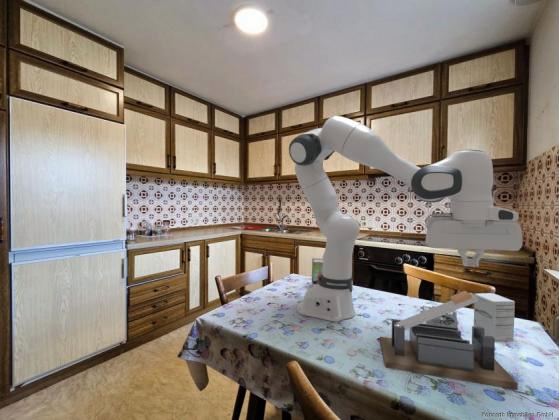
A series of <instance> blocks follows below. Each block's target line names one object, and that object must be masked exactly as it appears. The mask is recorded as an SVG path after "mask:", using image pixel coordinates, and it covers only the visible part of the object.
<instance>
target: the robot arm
mask: <svg viewBox="0 0 559 420" xmlns="http://www.w3.org/2000/svg"><path fill="white" fill-rule="evenodd" d="M288 153H289V158H290V159H291V160H292V161H293V163H294V164H295V165H294V172H295V176H296V178H297V180H298V184H299V186H300V188H301V190H302V193H303V195H304V196H305V197H306V200H307V202H308V204H309V206H310V208H311V210H312V213H313V215H314V218H315V221H316V223H317V226H318V229H319V231H320V234H321V235H323V236H324V237H325V239H326V243H325V248H324V253H323V255H322V258H323V274H322V273H319V274H318V276H317V277H318V279H317V282H318V284H317V285H315V286H314V287H312V286H311V288H309V289H308V290H307V291H306V292H305V294H304V296H303V300H301V301H300V302H299V304H298V305H297V313H298V314H299V315H303V316H306V317H312V318H315V319H320V320H326V321H329V322H333V323H335V322H336V323H337V322H340V321H342V320H348V319H350V318H351V319H352V318H353V317H354V316H355V315H356V310H355V307H354V302H353V301H354V300H353V290H354V287H353V285H354V283H353V281H354V280H353V276H352V262H353V261H352V259H353V253H354V247H355V244H356V240H357V239H358V237H359V235H360V231H361V227H360V223H359V222H358V220H357V219H355V218H354V217H353V216H351V215H350V214H346V213H343V212H342V211H341V208H340V205H339V201H338V194H337V192H336V190H335V188H334V187H333V185H332V182H331V180H330V178H329V176H328V174H327V172H326V170H325V169H324V166H323V164H324V161H327V160H329V159H330V158H331V156H332V155H333V154H334V153H338V154H339V155H341V156H342V157H344V158H346V159H348V160H350V161H351V162H355V163H357V164H360V165H363V166H367V167H369V168H372V169H373V168H374V169H377V170H380V171H382V172H384V173H386V174H388V175H390V176H392V177H393V178H395V179H397V180H399V181H400V182H402V183H404V184H405V185H406V186H407V187H409V188H410V189H411V191H412V193H413V194H414V195H415V197H416V198H417V199H419V200H420V201H422V202H426V203H431V204H432V203H438V202H440V201H443V200H444V199H445V198H449V200H450V201H449V206H450V207H449V211H450V212H441V213H439V212H432V213H431V214H429V215H427V216H426V218H425V227H426V234H425V245H427V246H428V247H429V248H433V249H451V250H452V249H457V253H458V254H459V256H460V258H461V259H462V266H463V267H472V268H479V266H480V265H479V263H480V260H481V259H482V258H483V256H484V255H485V250H486V251H487V250H488V251H508V252H509V251H512V252H517V251H520V249H521V248H522V247H523V233H522V232H523V231H522V228H521V226H520V224H519V222H517V221H518V220H519V218H520V217H519V213H518V212H517V211H514V210H511V209H506V208H502V207H498V206H494V197H493V195H492V189H493V187H494V169H493V168H494V167H493V161H492V158H491V156H490V154H489V153H487V152H486V151H484V150H480V149H461V150H457V151H454V152H453V153H451V155H449V156H447V157H445V158H444V159H442V160H440V161H437V162H435V163H432V164H429V165H426V166H423V167H419V166H417V165H415V164H414V163H412V162H410V161H408V160H407V159H404V158H403V157H401V156H400V155H398V154H396V152H394V151H393V150H392V149H391V148H390V147H389V146H388V145H387V143H386V142H385V140H384V139H383V138H382V137H381V136H380V135H379V134H378V133H377V132H375V131H374V130H373V129H371V128H370V127H368V126H367V125H364V124H363V123H360V122H358V121H356V120H353V119H350V118H347V117H346V116H340V115H333V116H331V117H329V118H328V119H327V120H326V121H325V122H324V123H323V125H322V127H319V128H314V129H310V130H308V131H307V132H305V133H302V134H299V135H297V136H295V137H294V138H293V139H292V140H291V141H290V143H289V147H288ZM468 250H473V252H474V253H475V254H474V256H473V257H472V258H468V256H467V254H468Z"/></svg>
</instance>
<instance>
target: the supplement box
mask: <svg viewBox="0 0 559 420" xmlns="http://www.w3.org/2000/svg"><path fill="white" fill-rule="evenodd" d="M473 294H474V295H475V296H477V298H478V299H479V301H478V302H475V303H473V326H474V327H483V328H484V329H485V336H493V337H494V338H495V342H508V341H509V342H511V341H514V338H515V337H514V335H515V334H514V333H515V307H516V306H515V303H516V302H515V300H512V299H509V298H507V297H504V296H501V295H499V294H496V293H493V292H487V293H486V292H483V293H473Z"/></svg>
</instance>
